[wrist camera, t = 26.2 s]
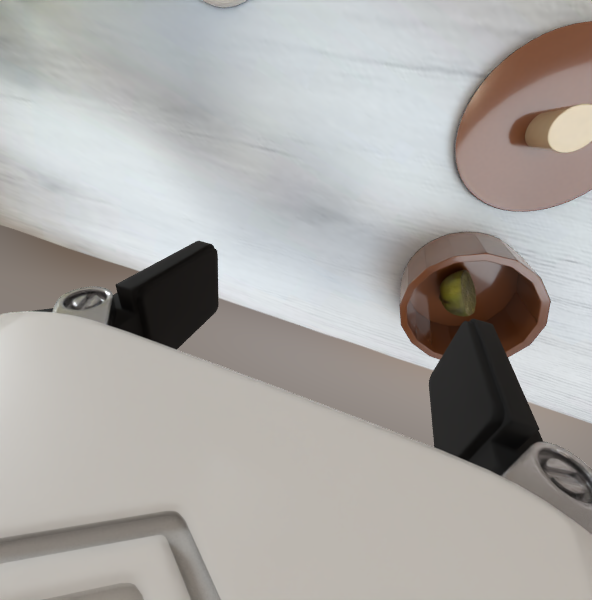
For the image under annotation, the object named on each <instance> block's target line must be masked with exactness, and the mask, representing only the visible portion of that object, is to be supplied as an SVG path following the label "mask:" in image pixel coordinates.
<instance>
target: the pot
mask: <svg viewBox="0 0 592 600" xmlns="http://www.w3.org/2000/svg"><path fill="white" fill-rule="evenodd" d="M460 270H467V272H468V273H469V274H470V275H471V278H472V281H473V284H474V286H475V294H476V306H475V311H474V313H473V314H472V315H470V316H464V317H463V316H457V315H454V314H451V313H449V312H448V311H447V310H446V309H445V308H444V306H443V305H442V302H441V301H440V300H439V295H440V285H441V283H442V281H443V280H444V279H445V278H446V277H448V276H449V275H451V274H453V273H455V272H457V271H460ZM550 302H551V301H550V298H549V296H548V293H547V291H546V289H545V286H544V284H543V282H542V279H541V277H540V276H539V275H538V274H537V273H536V272H535V271H534V270H533V269H532V268H531V267H530V265H529V264H528V263H527V262H526V261H525V260H524V259H523V258H522V257H521V256H520V255H519V253H518V252H516V251H515V250H514V249H512V248H511V247H510V246H509V245H508V244H506V243H505V242H503V241H502V240H500V239H499V238H496V237H494V236H491V235H487V234H483V233H477V232H459V233H453V234H449V235H445V236H442V237H440V238H437V239H435V240H433V241H431V242H429V243H428V244H426V245H425V246H423V247H422V248H421V249H420V250H418V251H417V252H416V253H415V254H414V256H413V257H412V258H411V259H410V261H409V262H408V264H407V266H406V268H405V270H404V273H403V277H402V279H401V290H400V318H401V326H402V328H403V329H404V331H405V333H406V334H407V336H408V338H409V339H410V341H411V342H412V343H413V344H414V345H415V346H417V347H418V348H419V349H421V350H422V351H423V352H425V353H426V354H428V355H429V356H431V357H434V358H437V359H441V358H442V356H443V354H444V353H445V351H446V349H447V347H448V346H449V344H450V342H451V341H452V339H453V337H454V336H455V334H456V332H457V331H458V329H459V327H460V326H461V324H462V323H463V322H464V321H468V322H469V321H470V320H471V319H476V320H480V321H484V322H487V323H491V324H493V326H494V328H495V330H496V332H497V335H498V337H499V339H500V341H501V344H502V346H503V348H504V350H505V353H506V355H507V357H510V356H511V355H513V354H515V353H517V352H518V351H520V350H522V349H524V348H525V347H527V346H529V345H530V344H531V343H532V342H533V341H534V339H535V338H536V337H537V336H538V335H539V333H540V332H541V331H542V330H543V328H544V327H545V326H546V323H547V318H548V313H549V307H550Z"/></svg>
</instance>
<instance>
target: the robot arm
mask: <svg viewBox="0 0 592 600" xmlns="http://www.w3.org/2000/svg"><path fill="white" fill-rule="evenodd" d="M203 1H204V2H206V3H209V4H211V5H213V6H217V7H223V8H225V7H233V6H236V5H238V4H241V3H243V2H245V1H246V0H203ZM116 288H117V292H118V293H116V294H114V295H112V292H111V291H109V290H108V289H106V288H101V287H86V288H80V289H76V290H73V291H70V292H68V293H66V294H64V295H63V296H62V297H60V298H59V299H58V301H57V302H56V305H55V307H54V308H52V309H44V310H37V311H28V312H12V313H6V314H1V315H0V600H592V469H591V468H590V467H589V466H587V465H586V464H585V463H584V462H583V461H582V460H581V459H579V458H578V457H577V456H575V455H574V454H572V453H571V452H569V451H568V450H565V449H564V448H562V447H560V446H558V445H555V444H552V443H548V442H543V440H542V438H541V436H540V433H539V431H538V430H539V427H538V425H537V423H536V421H535V418H534V416H533V414H532V411H531V409H530V407H529V405H528V402H527V400H526V398H525V396H524V393H523V391H522V389H521V387H520V384H519V382H518V380H517V378H516V375H515V373H514V371H513V369H512V366H511V364H510V362H509V359H508V357H507V355H506V353H505V350H504V348H503V346H502V344H501V341H500V339H499V337H498V335H497V332H496V330H495V328H494V326H493V324H491V323H487V322H484V321H480V320H476V319H471V320H470V321H469V322H468V321H464V322H463V323H462V324H461V326H460V327H459V329H458V331H457V332H456V334H455V336H454V337H453V339H452V341H451V342H450V344H449V346H448V347H447V349H446V351H445V353H444V354H443V356H442V358H441V359H440V361H439V363H438V364H437V366H436V368H435V369H434V371H433V373H432V374H431V377H430V380H429V391H430V402H431V413H432V425H433V435H434V436H433V437H434V447H432V446H429V445H427V444H424V443H421V442H419V441H416V440H414V439H411V438H409V437H406V436H403V435H401V434H399V433H396V432H394V431H391V430H388V429H386V428H383V427H380V426H378V425H375V424H373V423H370V422H368V421H365V420H362V419H360V418H357V417H354V416H352V415H349V414H347V413H344V412H341V411H339V410H336V409H333V408H331V407H328V406H326V405H323V404H320V403H318V402H315V401H312V400H310V399H307V398H305V397H302V396H299V395H297V394H294V393H291V392H289V391H286V390H283V389H281V388H278V387H275V386H273V385H270V384H268V383H265V382H262V381H259V380H257V379H254V378H252V377H249V376H246V375H244V374H241V373H238V372H236V371H233V370H230V369H227V368H225V367H222V366H219V365H217V364H214V363H211V362H209V361H206V360H203V359H201V358H198V357H195V356H192V355H190V354H187V353H184V352H181V351H179V350H177V349H178V348H179V347H180V346H181V345H182V344H183V343H184V342H185V341H186V340H187V339H188V338H189V337H190V336H191V335H192V334H193V333H194V332H195V331H196V330H197V329H199V328H200V327H201V326H202V325H203V324H204V323H205V322H206V321H207V320H208V319H209V318H210V317H211V316H212V315H213V314H214V313H215V312H216V310H217V308H218V255H217V250H216V249H214V246H213V245H212V244H208V243H205V242H201V241H196V242H195V243H193V244H191V245H189V246H187V247H185V248H183V249H181V250H180V251H178V252H176V253H174V254H172V255H170V256H168V257H166V258H165V259H163V260H161V261H159V262H157V263H155V264H153V265H152V266H150V267H148V268H146V269H144V270H142V271H140V272H139V273H137V274H135V275H133V276H131V277H129V278H127V279H125V280H123V281H122V282H120V283H118V284H116Z"/></svg>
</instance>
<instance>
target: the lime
mask: <svg viewBox="0 0 592 600" xmlns="http://www.w3.org/2000/svg"><path fill="white" fill-rule="evenodd" d="M439 300H440V301H441V302H442V305H443V306H444V308H445V309H446V310H447V311H448V312H449V313H451V314H454V315H457V316H463V317H464V316H470V315H472V314H473V313H474V311H475V306H476V294H475V286H474V284H473V281H472V278H471V275H470V274H469V273H468V272H467V270H460V271H457V272H455V273H453V274H451V275H449V276H448V277H446V278H445V279H444V280H443V281H442V283H441V285H440V295H439Z"/></svg>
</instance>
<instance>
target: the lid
mask: <svg viewBox="0 0 592 600" xmlns="http://www.w3.org/2000/svg"><path fill="white" fill-rule="evenodd" d="M455 161H456V166H457V170H458V173H459V175H460V178H461V180H462V181H463V183H464V185H465V186H466V187H467V189H468V190H469V191H470V192H471V193H472V194H473V195H474V196H475V197H476V198H478V199H479V200H481V201H482V202H484V203H485V204H488V205H490V206H492V207H495V208H499V209H502V210H508V211H522V212H525V211H536V210H541V209H547V208H550V207H554V206H557V205H561V204H563V203H566V202H568V201H571V200H573V199H575V198H577V197H579V196H581V195H583V194H585V193H587V192H588V191H590V190H592V21H590V22H582V23H575V24H572V25H568V26H564V27H560V28H558V29H555V30H553V31H550V32H548V33H545V34H543V35H541V36H539V37H537V38H535V39H534V40H532V41H530V42H528V43H527V44H525V45H524V46H522V47H521V48H519V49H518V50H516V51H515V52H514V53H512V54H511V55H510V56H509V57H507V58H506V59H505V60H504V61H502V62H501V63H500V64H499V65H498V66H497V67H496V68H495V69H494V70H493V71H492V72H491V73H490V74H489V75H488V76H487V78H486V79H485V80H484V81H483V82H482V83H481V85H480V86H479V88H478V89H477V90H476V92H475V93H474V95H473V96H472V98H471V100H470V101H469V103H468V105H467V107H466V109H465V111H464V113H463V116H462V118H461V121H460V124H459V127H458V131H457V136H456V142H455Z"/></svg>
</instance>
